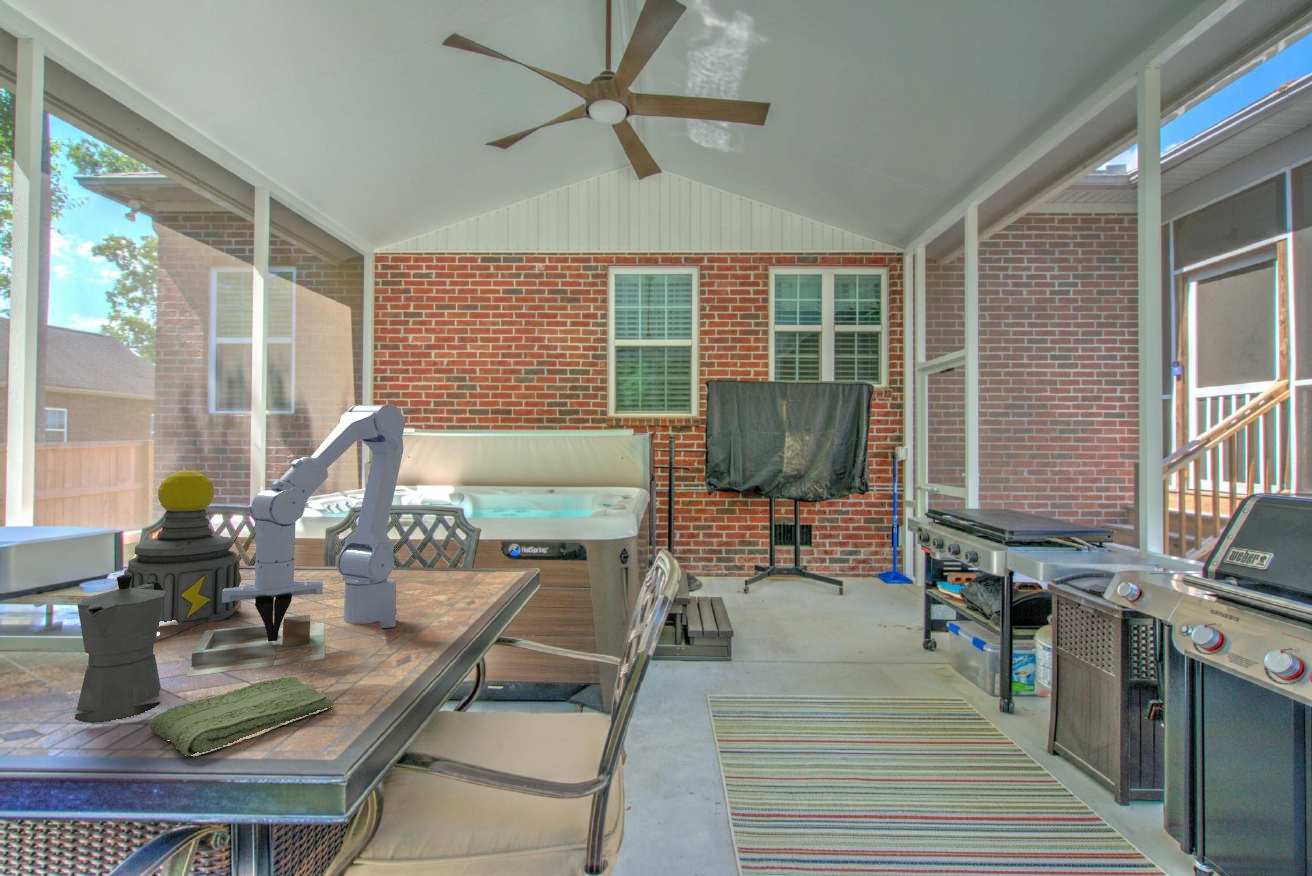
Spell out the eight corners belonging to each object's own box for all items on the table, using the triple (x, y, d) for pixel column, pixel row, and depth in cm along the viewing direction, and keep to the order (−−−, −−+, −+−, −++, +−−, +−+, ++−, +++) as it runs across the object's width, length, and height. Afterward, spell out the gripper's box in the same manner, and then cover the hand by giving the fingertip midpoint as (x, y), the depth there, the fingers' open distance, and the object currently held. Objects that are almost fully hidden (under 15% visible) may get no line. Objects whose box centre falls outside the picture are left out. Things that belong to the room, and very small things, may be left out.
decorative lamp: (112, 619, 123) (116, 469, 123) (223, 601, 137) (227, 467, 137) (132, 639, 110) (137, 473, 111) (252, 618, 125) (256, 471, 125)
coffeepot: (131, 727, 77) (135, 585, 78) (41, 734, 75) (46, 587, 76) (193, 681, 92) (196, 561, 93) (120, 685, 90) (124, 563, 91)
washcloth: (339, 712, 84) (340, 688, 84) (187, 767, 69) (188, 738, 69) (290, 689, 91) (291, 667, 91) (142, 735, 76) (143, 709, 76)
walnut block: (309, 637, 109) (310, 614, 109) (309, 643, 106) (310, 620, 106) (283, 640, 107) (284, 617, 107) (282, 647, 104) (283, 623, 104)
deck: (323, 630, 118) (324, 612, 118) (324, 667, 99) (324, 646, 99) (209, 643, 110) (209, 623, 110) (185, 686, 90) (186, 663, 90)
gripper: (220, 567, 98) (217, 652, 98) (323, 561, 105) (321, 640, 105) (226, 559, 104) (224, 640, 104) (323, 554, 111) (321, 629, 111)
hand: (272, 639), depth 105 cm, fingers closed
